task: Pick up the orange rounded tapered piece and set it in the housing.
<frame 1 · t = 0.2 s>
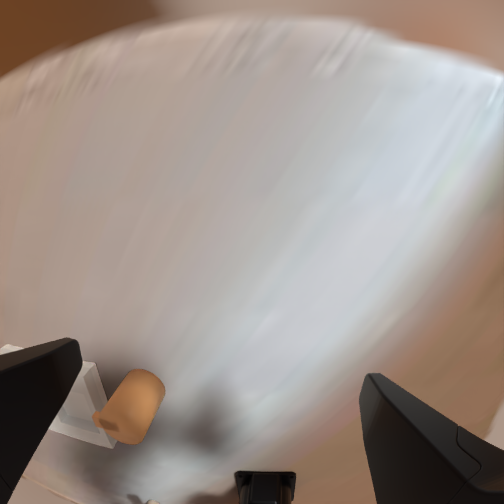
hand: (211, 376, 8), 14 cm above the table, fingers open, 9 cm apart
pipe connector: (154, 502, 32), on the table
orange rounded tapered piece: (145, 386, 26), on the table
housing: (58, 390, 28), on the table
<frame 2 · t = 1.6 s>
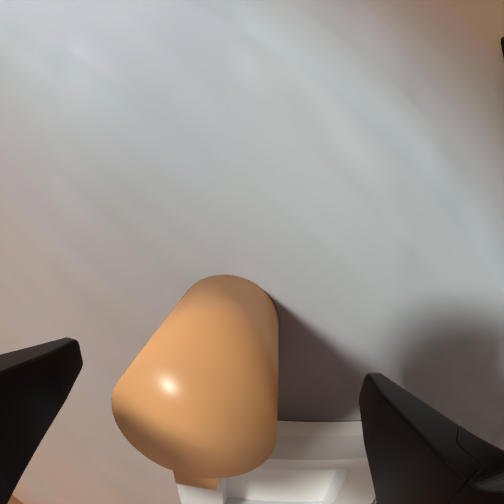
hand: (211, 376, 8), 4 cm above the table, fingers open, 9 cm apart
orange rounded tapered piece: (227, 323, 12), on the table
housing: (274, 494, 15), on the table
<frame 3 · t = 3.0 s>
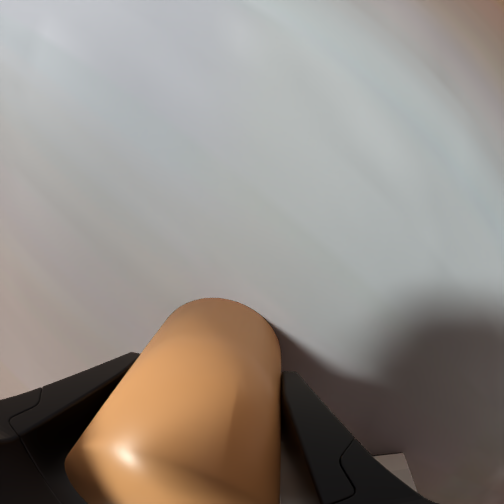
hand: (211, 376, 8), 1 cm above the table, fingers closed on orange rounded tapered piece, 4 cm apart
orange rounded tapered piece: (218, 355, 10), on the table, touching gripper
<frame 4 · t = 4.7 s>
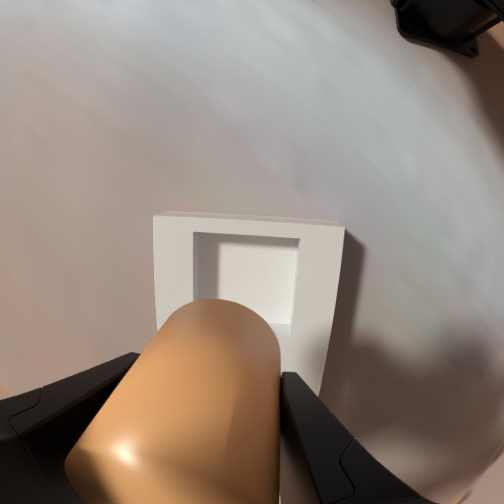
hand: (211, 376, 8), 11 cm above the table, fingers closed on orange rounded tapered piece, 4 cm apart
orange rounded tapered piece: (218, 355, 10), point 10 cm above the table, touching gripper
housing: (245, 324, 20), on the table
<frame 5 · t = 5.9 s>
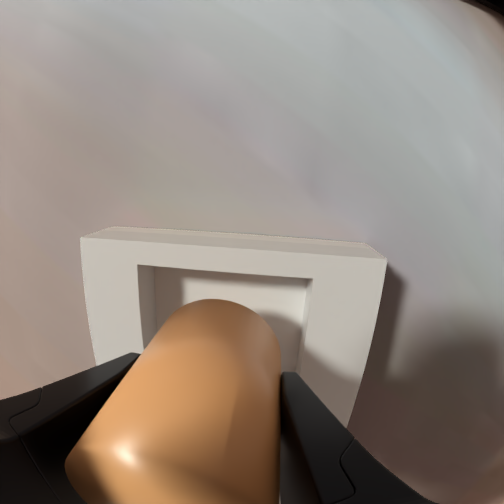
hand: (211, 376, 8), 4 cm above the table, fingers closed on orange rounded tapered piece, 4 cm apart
orange rounded tapered piece: (218, 356, 10), point 3 cm above the table, touching gripper
housing: (228, 387, 13), on the table
when the fingers open (4 cm above the table, at t = 6.6 s): orange rounded tapered piece drops 2 cm, resting on housing.
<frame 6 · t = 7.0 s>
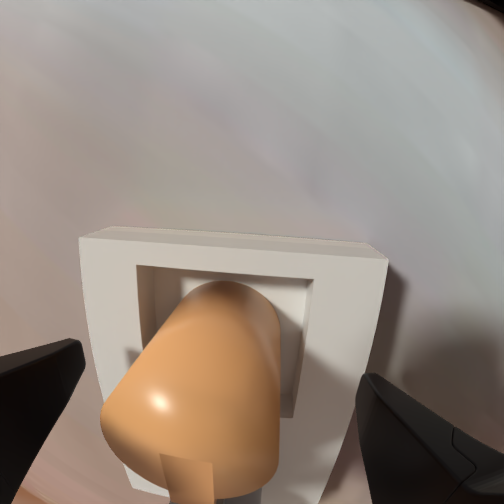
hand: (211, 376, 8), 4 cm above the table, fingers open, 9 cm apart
orange rounded tapered piece: (226, 331, 11), point 1 cm above the table, touching housing
housing: (227, 388, 13), on the table
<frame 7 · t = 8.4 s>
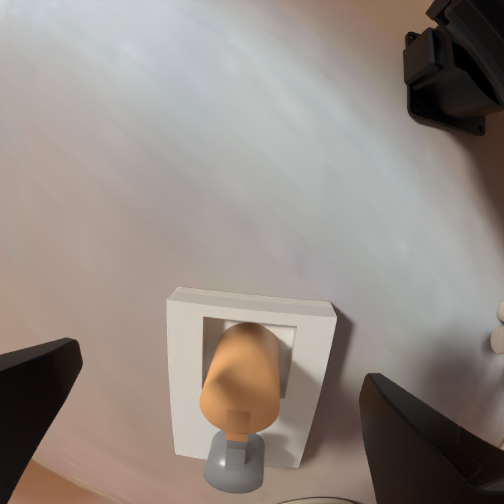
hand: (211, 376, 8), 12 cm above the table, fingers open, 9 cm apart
pipe connector: (502, 308, 19), on the table
orange rounded tapered piece: (248, 349, 20), point 1 cm above the table, touching housing
housing: (245, 382, 22), on the table
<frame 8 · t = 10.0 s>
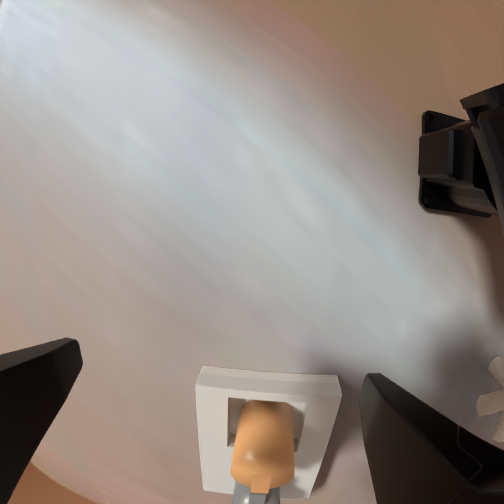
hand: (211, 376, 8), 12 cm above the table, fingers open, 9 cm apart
pipe connector: (494, 363, 21), on the table
orange rounded tapered piece: (266, 414, 22), point 1 cm above the table, touching housing
housing: (263, 435, 23), on the table
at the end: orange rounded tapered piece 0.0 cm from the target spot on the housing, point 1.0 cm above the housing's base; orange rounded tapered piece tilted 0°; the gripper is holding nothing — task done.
